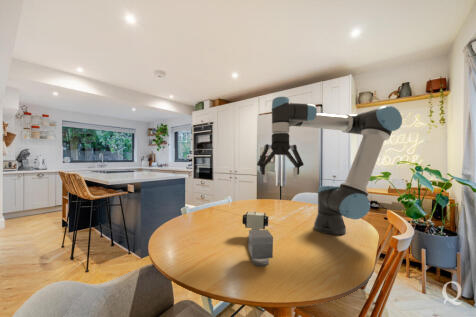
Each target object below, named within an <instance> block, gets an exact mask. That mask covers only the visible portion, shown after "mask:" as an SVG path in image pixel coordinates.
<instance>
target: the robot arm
mask: <svg viewBox="0 0 476 317" xmlns="http://www.w3.org/2000/svg"><path fill="white" fill-rule="evenodd" d="M402 124H403V117H402V114H401V112H400V111H399V110H398V109H397V108H396V107H395V106H392V105H384V106H379V107H378V108H373V109H371V110H368V111H364V112H360V113H355V114H345V115H339V114H338V115H336V114H328V113H318V109H317V105H315V104H311V103H295V102H291V101H290V98H289V97H287V96H276V97H274V98H273V99H272V102H271V144H268V143H267V144H264V147H263V151H262V153H261V155H260V156H259V159H258V161H257V163H256V166H258V167H260V169H261V170H260V172H261V175H263V179H262V181H263V183H265V184H267V183H268V180H267V179H268V171H267V170H268V167H266V166H267V165H268V163H270V161H271V160H272V159H273V157H274V156H279V155H281V156H285V157H287V158H288V160H289V161H290V162H291V164H293V166H294V167H292V182H293V183H298V175H300V168H301V167H303V166H304V165H305V164H304V162H303V159H302V158H301V156H300V154H299V152H298V149H297V148H298V147H297V144H292V145H291V144H290V134H289V133H290V127H299V128H300V127H302V128H310V129H311V128H312V129H321V130H323V129H324V130H333V131H341V132H342V133H343V134H344V133H347V134H353V135H362V138H361V141H360V144H359V146H358V149H357V151H356V154H355V157H354V159H353V162H352V164H351V167H350V169H349V172H348V174H347V176H346V179H345V181H344V182H342V183H340V185H320V186H319V187H318V188H317V215H316V218H315V221H314V223H313V226H314V227H313V229H314V230H316V231H317V232H320V233H324V234H326V235H327V234H328V235H336V236H337V235H344V234H345V235H346V233H347V228H346V224H345V221H344V218H347V219H351V220H359V219H360V220H361V219H363V218H364V217H366V216H367V215H368V213H369V212H370V210H371V203H370V199H369V197H368V196H369V191H368V189H367V187H368V184H369V181H370V179H371V177H372V174H373V171H374V169H375V166H376V163H377V161H378V158H379V155H380V153H381V150H382V148H383V146H384V143H385V141H388V140H389V139H390V137H391V135H392V132H395V131H397V130H399V129H400V128H401V126H402ZM270 149H271V150H272V151H271V152H270V154H269V155H268V156H267V154H268V151H269V150H270ZM290 150H291V151H292V152H290ZM291 153H292V154H291ZM266 156H267V157H266ZM265 157H266V158H265ZM294 157H295V158H294ZM343 217H344V218H343Z"/></svg>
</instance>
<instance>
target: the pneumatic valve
mask: <svg viewBox="0 0 476 317" xmlns="http://www.w3.org/2000/svg"><path fill="white" fill-rule="evenodd" d="M266 214H267V213H266V212H257V210H255V211H254V212H253V211H246V212H245V214H243V215H242V221H241V222H242V224H243V225H244V226H245V228H244V229H251V230H266V227H269V216H267V215H266Z"/></svg>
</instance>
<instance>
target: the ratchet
mask: <svg viewBox="0 0 476 317" xmlns="http://www.w3.org/2000/svg"><path fill="white" fill-rule="evenodd" d="M247 244H248V245H249V236H247ZM251 263H252V265H254V266H255V267H261V268H262V267H267V266H268V265H269V263H270V258H259V259H252V258H251Z"/></svg>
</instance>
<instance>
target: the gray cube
mask: <svg viewBox="0 0 476 317" xmlns="http://www.w3.org/2000/svg"><path fill="white" fill-rule="evenodd" d="M248 237H249V244H248V252H249V255H250V257H251V260H252V259H259V258H269V259H273V258H274V256H273V254H274V236H273V235H272V233H271V232H270V231H269V230H268V229H260V230H250V229H249V230H248Z"/></svg>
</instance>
